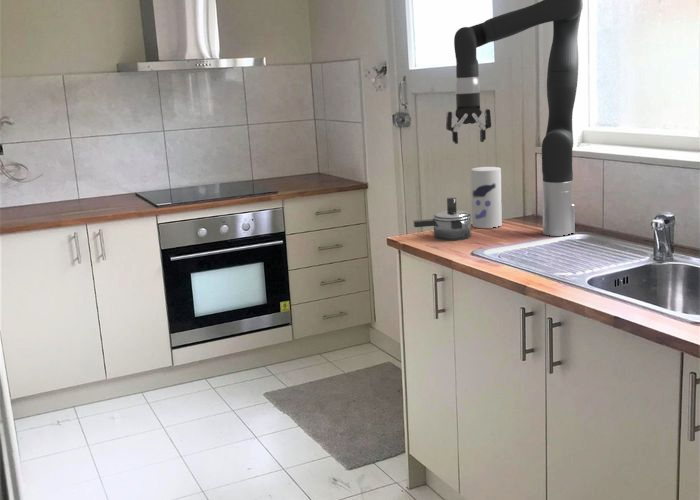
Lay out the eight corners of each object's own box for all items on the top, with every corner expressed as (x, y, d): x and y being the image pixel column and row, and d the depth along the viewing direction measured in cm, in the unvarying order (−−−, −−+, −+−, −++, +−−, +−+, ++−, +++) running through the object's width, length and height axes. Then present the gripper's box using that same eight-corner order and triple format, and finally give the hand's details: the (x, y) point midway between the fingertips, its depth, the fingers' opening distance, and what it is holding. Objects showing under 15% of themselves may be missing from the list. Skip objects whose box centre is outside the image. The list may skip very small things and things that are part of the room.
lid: (464, 211, 260) (463, 194, 259) (471, 217, 250) (470, 199, 249) (433, 214, 260) (432, 196, 258) (439, 219, 249) (438, 201, 248)
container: (472, 229, 266) (470, 170, 262) (472, 223, 276) (471, 166, 271) (502, 228, 264) (501, 169, 260) (501, 222, 274) (500, 165, 269)
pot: (466, 231, 263) (466, 211, 261) (476, 240, 249) (476, 218, 247) (411, 235, 262) (410, 215, 260) (419, 244, 248) (418, 223, 246)
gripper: (486, 90, 253) (487, 140, 257) (443, 92, 252) (445, 143, 256) (492, 90, 246) (493, 142, 250) (448, 93, 245) (449, 145, 249)
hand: (469, 142), depth 253 cm, fingers open, 8 cm apart
